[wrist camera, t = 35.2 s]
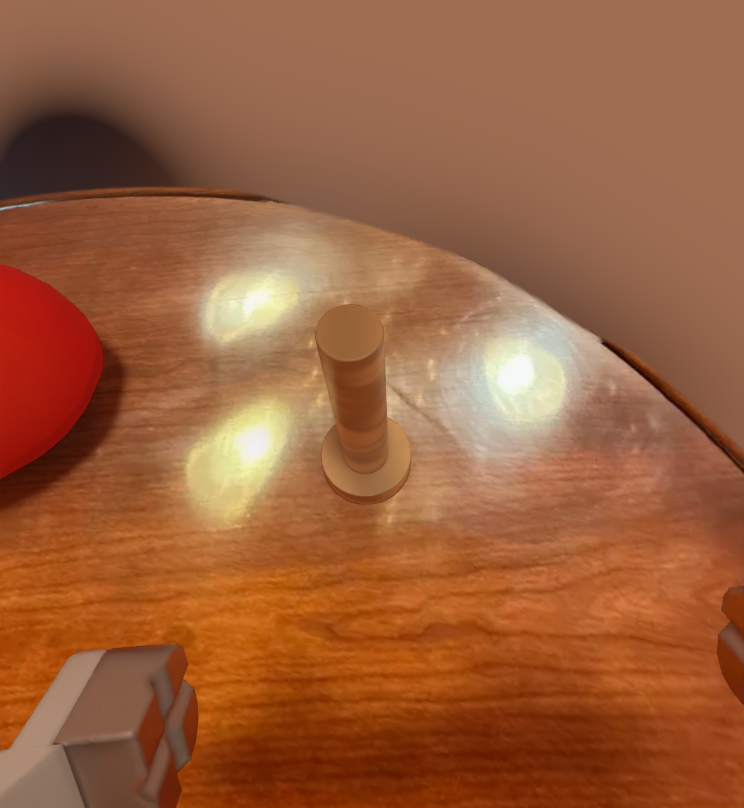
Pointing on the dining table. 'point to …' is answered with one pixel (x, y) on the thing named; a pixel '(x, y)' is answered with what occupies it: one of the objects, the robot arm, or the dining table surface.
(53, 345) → the tomato
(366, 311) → the wooden peg stand
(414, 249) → the dining table surface
